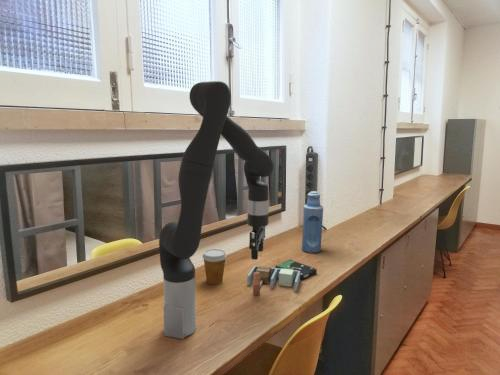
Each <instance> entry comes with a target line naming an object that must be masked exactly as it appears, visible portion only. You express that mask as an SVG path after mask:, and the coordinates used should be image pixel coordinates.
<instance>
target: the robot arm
mask: <svg viewBox="0 0 500 375" xmlns="http://www.w3.org/2000/svg"><path fill="white" fill-rule="evenodd" d="M231 101H232V94H231V89H230V87H229V86H228V84H227V83H226V82H224V81H220V80H214V81H210V80H209V81H201V82H200V81H199V82H197V83H195V84H194V85H193V86H192V87H191V89H190V90H189V102H190V104H191V106H192V108H193V109H194V111H196V112H197V113H198V114H199V115H200V116H201V117H202V120H201V124H200V127H199V129H198V131H197V132H196V134H195V135H194V137H193V139H192V140H191V142H190V143H189V144H188V146H187V147H186V149H185V151H184V153H183V155H182V158H181V162H180V166H179V167H180V168H179V172H178V190H179V197H180V211H179V218H178V221H170V222H167V223H166V224H165V225H164V226H163V227H162V228H161V231H160V234H159V238H158V247H159V250H158V251H159V262H160V263H159V264H160V267H161V271H162V274H163V276H162V277H163V304H164V305H163V333H164V334H163V335H164V336H165V337H170V338H176V339H180V340H184V339H185V338H186V337H188V336H190V335H193V333H194V332H195V331H196V330H197V329H196V326H197V325H196V322H197V321H196V315H197V314H196V313H197V312H196V267H195V265H194V263H193V262H192V260H191V258H192V257H193V256H194V255H195V253H196V252H197V251H198V249H199V246H200V242H201V237H202V236H201V235H202V227H203V221H204V220H203V218H204V212H205V206H206V201H207V197H208V193H209V188H210V187H209V186H210V184H211V179H212V177H213V176H212V175H213V170H214V165H215V160H216V155H217V151H218V147H219V143H220V139H221V136H222V138H223V139H225V141H226V142H227V143H228V144H229V146H230V147H231V148H232V149H233V151H234V152H235V153H236V155H237V156H238V158H239V159H241V160H242V161H244V164H243V173H244V176H245V181H246V183H247V188H248V190H247V191H248V194H247V195H248V201H247V214H246V216H247V221H246V222H247V225H248V226H250V227H252V229H251V230H250V232H249V244H248V245H249V247H248V248H249V250H251V254H250V255H251V256H250V259H251V260H254V261H255V260H258V258H259V252H263V251H264V242H265V238H266V227H267V226H268V225H269V210H270V208H269V205H270V204H269V186H268V184H267V183H265V182H263V181H262V180H261V177H262V178H267V177H269V176H271V175H272V174H273V171H274V168H275V166H274V162H273V160H272V158H271V157H270V156H269V154H267V153H266V152H265V151H264V150H263V149H262V148H260V146H257V144H256V143H255V141H254V140H253V137H251V135H250V134H249V132H248V131H247V130H246V129H244V128H243V127H242V125H240V124H238V122H236V121H235V120H234V119H232V117H230V116H229V115H228V114H229V110H230V106H231Z"/></svg>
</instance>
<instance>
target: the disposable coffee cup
mask: <svg viewBox="0 0 500 375" xmlns="http://www.w3.org/2000/svg"><path fill="white" fill-rule="evenodd" d="M227 257H228V256H227V254H226V251H225V250H223V249H221V248H210V249H206V250H204V251H203V254H202V260H203V263H204V270H205V271H204V272H205V277H206V283H207V284H210V285H219V284H222V283H223V278H224V271H225V265H226V264H225V263H226V259H227Z"/></svg>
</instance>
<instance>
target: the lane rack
mask: <svg viewBox="0 0 500 375" xmlns="http://www.w3.org/2000/svg"><path fill="white" fill-rule="evenodd" d="M259 266H260V265H253V267H252V268H251V270H250V271H249V272H248V274H247V280H246V281H247V283H246V284H247V286H249V287H250V286H251V283H253V273H254V272H256V270H257V268H258V267H259ZM280 270H281V269H280V268H275V267H271V279H270V285H269V286H270V289H271V290H273V289H274V286H275V284H276V282H277V280H278V279H279V272H280ZM293 281H294V288H293V290H294V292H295V293H297V291H298V288H299V284H300V281H301V280H300V271H297V270H294V272H293Z"/></svg>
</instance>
